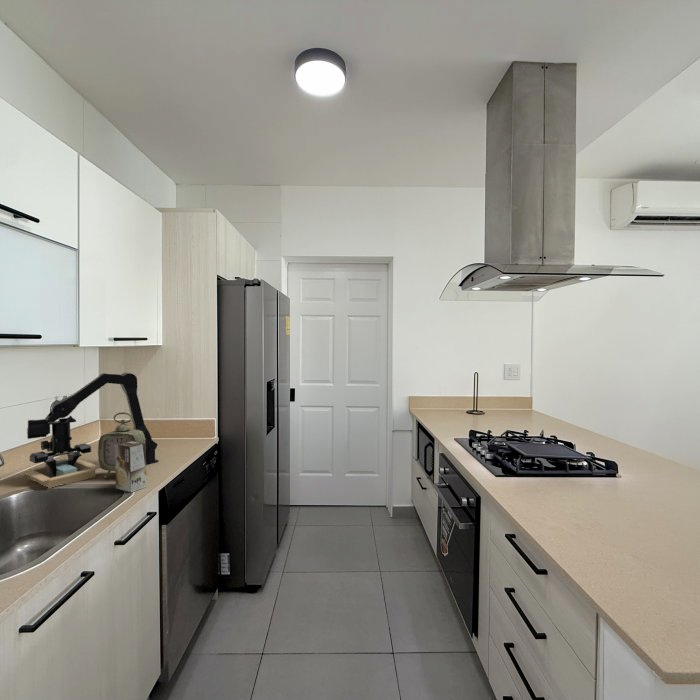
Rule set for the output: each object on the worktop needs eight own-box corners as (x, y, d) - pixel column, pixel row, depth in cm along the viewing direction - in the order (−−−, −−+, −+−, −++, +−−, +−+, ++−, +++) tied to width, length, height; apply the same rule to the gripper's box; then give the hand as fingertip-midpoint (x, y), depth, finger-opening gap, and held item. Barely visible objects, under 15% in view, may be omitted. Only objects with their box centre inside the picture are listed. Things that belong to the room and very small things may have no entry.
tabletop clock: (98, 480, 153) (97, 414, 152) (111, 472, 162) (110, 410, 161) (137, 479, 153) (136, 414, 153) (148, 472, 162) (147, 410, 162)
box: (80, 479, 154) (80, 464, 154) (60, 484, 149) (60, 469, 149) (65, 472, 162) (64, 458, 162) (45, 477, 156) (45, 462, 156)
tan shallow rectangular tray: (102, 476, 157) (102, 467, 157) (43, 491, 142) (43, 481, 141) (78, 467, 169) (78, 458, 169) (22, 480, 153) (22, 470, 153)
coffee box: (147, 487, 146) (147, 442, 145) (130, 493, 140) (130, 446, 140) (131, 483, 150) (130, 439, 150) (114, 488, 144) (113, 443, 144)
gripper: (79, 427, 168) (79, 465, 168) (23, 436, 152) (24, 477, 153) (91, 431, 161) (92, 470, 162) (35, 440, 146) (35, 483, 146)
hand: (62, 475), depth 156 cm, fingers closed on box, 4 cm apart
